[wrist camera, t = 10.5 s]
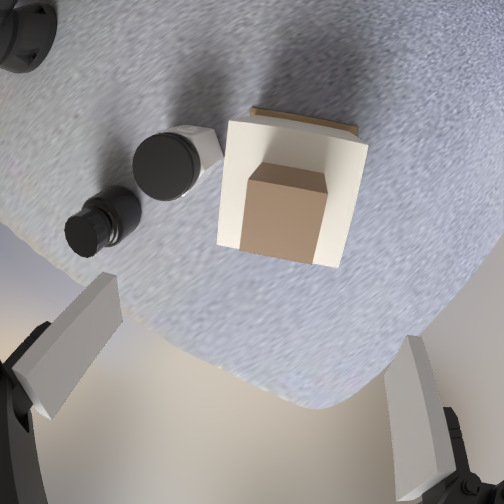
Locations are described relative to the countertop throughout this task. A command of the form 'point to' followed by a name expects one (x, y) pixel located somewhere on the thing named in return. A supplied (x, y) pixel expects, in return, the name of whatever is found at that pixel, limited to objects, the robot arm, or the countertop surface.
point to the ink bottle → (103, 221)
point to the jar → (176, 161)
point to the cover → (289, 189)
